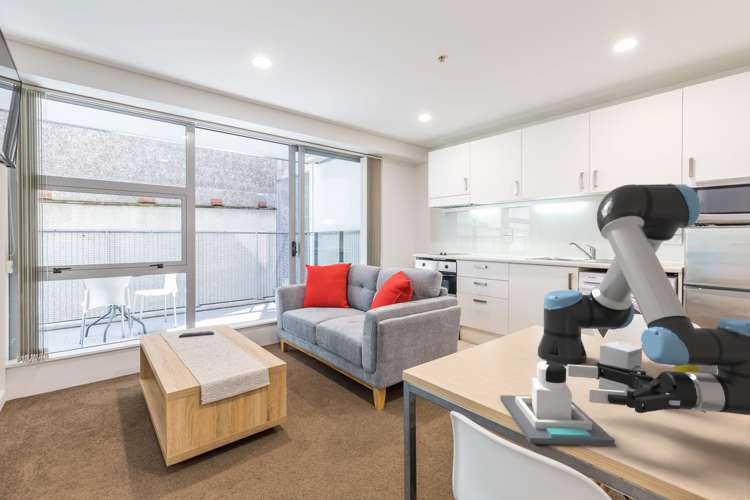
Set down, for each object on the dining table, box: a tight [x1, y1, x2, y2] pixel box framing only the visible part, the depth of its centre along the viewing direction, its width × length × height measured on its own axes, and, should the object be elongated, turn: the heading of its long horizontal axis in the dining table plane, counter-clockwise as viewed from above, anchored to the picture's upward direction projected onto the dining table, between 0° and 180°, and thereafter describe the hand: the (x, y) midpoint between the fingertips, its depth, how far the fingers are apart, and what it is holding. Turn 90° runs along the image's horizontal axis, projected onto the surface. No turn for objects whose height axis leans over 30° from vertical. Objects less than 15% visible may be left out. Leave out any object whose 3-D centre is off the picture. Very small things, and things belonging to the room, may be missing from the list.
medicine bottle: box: [531, 360, 573, 420], centre depth 80 cm, size 7×7×12 cm
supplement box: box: [598, 341, 643, 396], centre depth 94 cm, size 7×7×13 cm
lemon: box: [673, 365, 700, 373], centre depth 98 cm, size 6×6×8 cm
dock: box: [499, 394, 616, 446], centre depth 80 cm, size 19×17×3 cm
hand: (577, 381), depth 78 cm, fingers open, 13 cm apart
